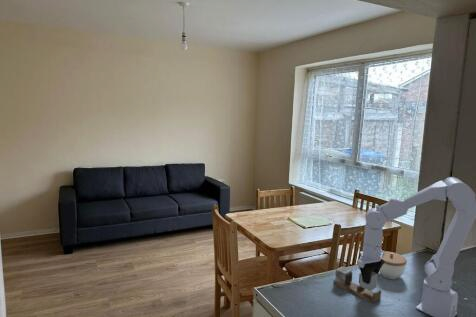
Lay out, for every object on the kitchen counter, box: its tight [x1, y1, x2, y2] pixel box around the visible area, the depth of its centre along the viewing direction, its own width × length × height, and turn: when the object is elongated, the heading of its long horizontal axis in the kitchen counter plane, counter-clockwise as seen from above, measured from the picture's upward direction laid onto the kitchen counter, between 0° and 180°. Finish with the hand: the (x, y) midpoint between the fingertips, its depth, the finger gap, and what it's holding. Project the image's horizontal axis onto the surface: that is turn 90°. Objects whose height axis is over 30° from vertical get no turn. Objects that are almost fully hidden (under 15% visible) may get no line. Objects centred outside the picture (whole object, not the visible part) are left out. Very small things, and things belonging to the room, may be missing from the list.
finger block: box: [358, 272, 378, 291], centre depth 112 cm, size 4×4×5 cm
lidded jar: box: [379, 250, 408, 280], centre depth 127 cm, size 11×11×9 cm
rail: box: [333, 266, 382, 304], centre depth 115 cm, size 16×4×6 cm, turn 38°
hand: (369, 280), depth 111 cm, fingers closed on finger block, 4 cm apart
